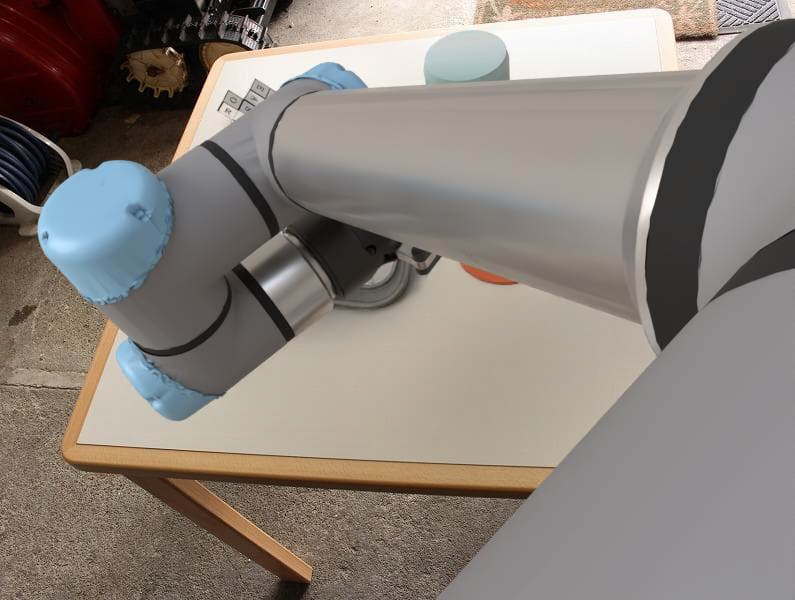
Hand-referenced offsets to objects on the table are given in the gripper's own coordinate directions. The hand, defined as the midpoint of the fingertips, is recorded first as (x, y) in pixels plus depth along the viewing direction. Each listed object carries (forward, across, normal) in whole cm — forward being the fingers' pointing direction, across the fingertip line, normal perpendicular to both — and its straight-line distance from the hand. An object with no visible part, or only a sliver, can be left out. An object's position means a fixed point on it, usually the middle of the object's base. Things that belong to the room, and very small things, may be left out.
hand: (515, 115), depth 54 cm
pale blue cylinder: (-5, 0, -11) cm, 12 cm away
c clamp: (-13, -19, -24) cm, 33 cm away
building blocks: (-6, -53, -24) cm, 59 cm away
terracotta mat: (+2, -5, -24) cm, 25 cm away
